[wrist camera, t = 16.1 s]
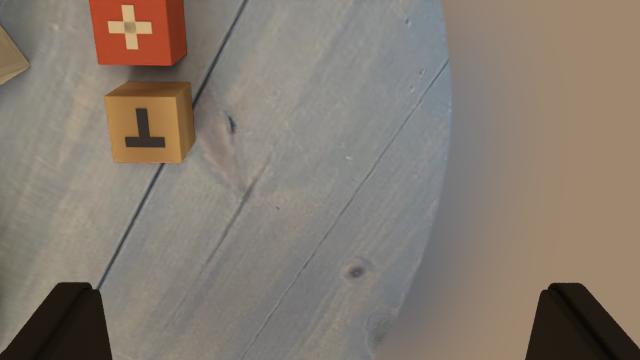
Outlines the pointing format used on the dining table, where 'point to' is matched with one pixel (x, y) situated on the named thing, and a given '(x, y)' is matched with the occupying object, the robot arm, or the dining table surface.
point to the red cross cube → (139, 31)
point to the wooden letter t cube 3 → (150, 122)
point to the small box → (10, 58)
